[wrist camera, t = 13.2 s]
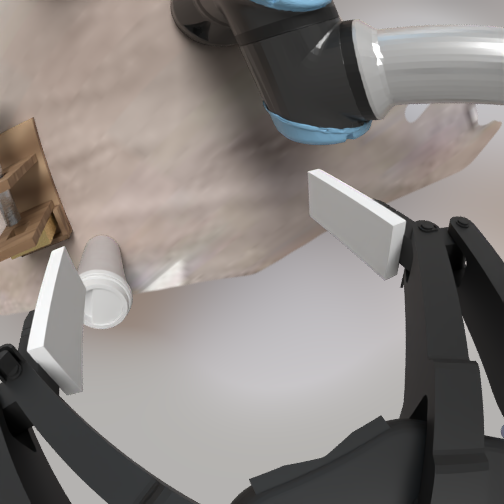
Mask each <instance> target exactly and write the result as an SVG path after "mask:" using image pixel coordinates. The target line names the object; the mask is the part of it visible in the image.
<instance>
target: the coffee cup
mask: <svg viewBox="0 0 504 504" xmlns="http://www.w3.org/2000/svg"><path fill="white" fill-rule="evenodd" d="M77 272H78V274H79V276H80V278H81V280H82V282H83V284H84V286H85V288H86V295H85V308H84V324H85V325H87V326H89V327H92V328H96V329H107V328H111V327H113V326H116V325H118V324H119V323H120V322H122V321H123V319H124V318H125V316H126V315H127V314H128V312H129V310H130V308H131V305H132V300H133V296H132V291H131V288H130V287H129V285H128V283H127V282H126V278H125V273H124V268H123V263H122V258H121V252H120V247H119V245H118V243H117V242H116V241H115V240H114V239H113V238H111V237H109V236H105V235H99V236H95V237H93V238H91V239H90V240H89V241H88V242H87V244H86V246H85V249H84V252H83V255H82V258H81V261H80V264H79V267H78V271H77Z"/></svg>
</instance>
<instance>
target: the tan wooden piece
mask: <svg viewBox="0 0 504 504" xmlns="http://www.w3.org/2000/svg"><path fill="white" fill-rule="evenodd" d="M57 226H58V222H57V220H56V218H55V215H54V213H53V210H52V212H51V214H50V217H49V219H48V221H47V223H46V225H45V227H44V229H43V232H42V234H41V236H40V238H39V241H38V243H37V245H36V247H33V248H31V249H29V250H26V251H24V252H21V253H19V254H17V255H14V256H12V257H11V258H12V259H15V258H17V257H19V256H22V255H24V254H26V253H29V252H31V251H34V250H36V249H39V248H41V247H44V246H46V245H49V244H51V242H52V239H53V236H54V233H55V231H56V228H57Z"/></svg>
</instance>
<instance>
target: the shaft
mask: <svg viewBox="0 0 504 504" xmlns="http://www.w3.org/2000/svg"><path fill="white" fill-rule="evenodd" d="M3 176H4V173H3V170H2V167H1V165H0V179H1V178H2V177H3ZM0 210H1V213H2V215H3V217H4V220H5V222H6V224H7V226H8V227H11V226H13V225H15V224H17V223H18V222H19V221H20V220H21V216H20V214H19V211H18V209H17V207H16V204H15V202H14V199H13V197H12V194H11V192H10V189H9V190H7V191H5V192H3V193H1V194H0Z"/></svg>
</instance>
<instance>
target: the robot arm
mask: <svg viewBox="0 0 504 504" xmlns="http://www.w3.org/2000/svg"><path fill="white" fill-rule="evenodd" d="M171 12H172V16H173V18H174V21H175V23H176V24H177V26H178V27H179V28H180V30H181V31H182V32H183V33H184V34H186V35H187V36H188V37H190V38H191V39H193V40H195V41H197V42H199V43H202V44H205V45H210V46H230V45H234V44H239V48H240V50H241V52H242V54H243V56H244V58H245V60H246V63H247V65H248V67H249V69H250V71H251V74H252V76H253V78H254V80H255V82H256V85H257V87H258V89H259V91H260V94H261V96H262V98H263V105H264V107H265V109H266V110H267V112H268V113H269V114H270V116H271V118H272V120H273V122H274V124H275V126H276V128H277V130H278V131H279V132H280V133H281V134H283V135H284V136H285V137H286V138H288V139H290V140H292V141H295V142H298V143H303V144H310V145H330V144H337V143H342V142H345V141H346V139H356V138H358V137H360V136H362V135H363V134H365V133H366V132H367V131H368V130H369V128H370V126H371V123H372V120H381V119H384V117H385V116H386V115H387V114H388V112H389V111H390V110H391V108H392V107H394V106H395V105H402V104H427V103H471V104H494V105H504V27H496V26H481V25H424V26H409V27H397V28H387V29H375V28H373V27H371V26H369V25H368V24H366V23H364V22H363V21H361V20H359V19H354V20H349V21H341V20H340V18H339V15H338V12H337V10H336V8H335V5H334V2H333V0H171ZM308 191H309V215H310V217H312V218H313V219H314V220H315V221H316V222H318V223H319V224H320V225H321V226H322V227H324V228H325V229H326V230H327V231H328V232H330V233H331V234H332V235H333V236H334V237H335V238H337V239H338V240H339V241H340V242H341V243H343V244H344V245H345V246H346V247H347V248H348V249H350V250H351V251H352V252H353V253H354V254H355V255H356V256H358V257H359V258H360V259H361V260H362V261H363V262H364V263H365V264H367V265H368V266H369V267H370V268H371V269H372V270H373V271H374V272H376V273H377V274H378V275H379V276H380V277H381V278H382V279H383V280H387V279H389V278H391V277H393V276H395V275H397V272H398V267H399V263H400V264H401V265H402V266H403V267H404V268H405V269H404V274H403V278H402V283H401V288H403V285H404V292H405V315H406V316H405V317H406V368H405V391H404V403H403V408H402V411H401V414H400V418H399V419H394V420H389V421H385V420H384V419H383V417H382V416H379V417H378V418H376V419H375V420H373V421H371V422H369V423H368V424H366V425H364V426H363V427H361V428H359V429H357V430H356V431H354V432H352V433H351V434H350V435H349V436H348V437H347V438H346V439H345V440H344V441H342V442H341V443H340V444H339V445H338V446H337V447H336V448H335V449H333V450H332V451H331V452H330V453H329V454H328V455H326V456H325V457H323V458H319V459H315V460H310V461H306V462H301V463H296V464H291V465H285V466H282V467H280V468H277V469H275V470H272V471H270V472H268V473H265V474H262V475H259V476H257V477H254V478H251V479H249V480H250V482H251V486H250V487H248V488H247V489H245V490H244V491H243V492H241V493H240V494H239V495H238V496H237V497H236V498H235V499H234V500H233V501H232V503H231V504H504V439H501V438H495V437H490V436H485V435H484V416H483V400H482V390H481V389H482V388H481V378H480V370H479V366H478V363H477V362H476V361H470V360H469V357H468V349H467V342H466V335H465V329H464V323H463V318H464V321H465V323H466V325H467V327H468V330H469V332H470V334H471V336H472V339H473V341H474V344H475V346H476V348H477V351H478V353H479V356H480V359H481V361H482V364H483V366H484V369H485V372H486V375H487V377H488V380H489V383H490V386H491V389H492V392H493V394H494V397H495V400H496V402H497V405H498V407H499V409H500V411H501V413H502V415H503V417H504V262H503V261H502V259H501V258H500V257H499V255H498V254H497V253H496V251H495V250H494V249H493V247H492V246H491V245H490V243H489V242H488V241H487V240H486V238H485V237H484V236H483V234H482V233H481V232H480V231H479V230H478V228H477V227H476V226H475V225H474V224H473V223H472V222H471V221H470V220H468V219H467V218H463V217H452V218H451V219H450V223H449V227H446V228H439V227H438V226H437V225H436V224H434V223H432V222H429V221H425V220H421V221H420V220H419V221H416V222H414V221H412V220H411V219H409V218H408V217H406V216H405V215H403V214H402V213H400V212H398V211H396V210H395V209H394V208H392V207H390V206H389V205H387V204H386V203H384V202H382V201H379V200H376V199H371V198H369V197H368V196H366V195H364V194H363V193H361V192H359V191H358V190H356V189H354V188H353V187H351V186H349V185H347V184H346V183H344V182H342V181H340V180H339V179H337V178H335V177H333V176H332V175H330V174H328V173H326V172H324V171H323V170H321V169H316V170H312V171H308ZM465 261H466V262H467V266H466V265H465ZM85 295H86V288H85V286H84V284H83V282H82V280H81V278H80V276H79V274H78V272H77V270H76V268H75V266H74V264H73V262H72V260H71V258H70V256H69V254H68V252H67V250H66V248H65V246H63V247H61V248H58V249H56V250H53V251H52V252H51V255H50V259H49V262H48V265H47V268H46V272H45V275H44V278H43V282H42V285H41V289H40V293H39V297H38V301H37V305H36V309H35V310H33V311H30V312H29V314H28V316H27V317H26V319H25V321H24V325H23V331H22V333H21V338H20V343H19V348H18V351H17V350H16V349H15V347H14V346H13V345H11V344H4V345H2V346H0V380H1V381H2V383H1V384H0V504H71V502H70V501H69V499H68V497H67V496H66V494H65V492H64V490H63V489H62V487H61V485H60V484H59V482H58V480H57V478H56V476H55V475H54V473H53V471H52V469H51V467H50V465H49V463H48V461H47V459H46V457H45V455H44V453H43V451H42V449H41V447H40V444H39V442H38V440H37V438H36V436H35V433H34V431H33V429H32V426H35V427H36V429H37V430H38V431H39V432H40V434H41V435H42V436H43V437H44V439H45V440H46V441H47V442H48V443H49V444H50V445H51V447H52V448H53V449H54V450H55V451H56V452H57V454H58V455H59V456H60V457H61V458H62V459H63V460H64V461H65V462H66V463H67V465H68V466H69V467H70V468H71V469H72V470H73V471H74V472H75V473H76V474H77V475H78V476H79V477H80V478H81V479H82V480H83V481H84V482H85V483H86V484H87V485H88V486H89V487H90V488H91V489H93V490H94V491H95V492H96V493H97V494H98V495H99V496H100V497H101V498H103V499H104V500H105V501H106V502H107V503H108V504H199V503H198V502H196V501H194V500H192V499H190V498H189V497H187V496H185V495H183V494H182V493H180V492H179V491H177V490H175V489H174V488H172V487H171V486H169V485H168V484H166V483H164V482H163V481H161V480H160V479H158V478H157V477H155V476H154V475H152V474H151V473H149V472H148V471H147V470H145V469H144V468H142V467H141V466H140V465H138V464H137V463H136V462H134V461H133V460H132V459H130V458H129V457H127V456H126V455H125V454H124V453H122V452H121V451H120V450H119V449H117V448H116V447H115V446H114V445H112V444H111V443H110V442H109V441H107V440H106V439H105V438H104V437H102V435H100V434H99V433H98V432H97V431H96V430H95V429H93V428H92V427H91V426H90V425H89V424H88V423H87V422H86V421H84V419H82V418H81V417H80V416H79V415H78V414H77V413H76V412H75V411H74V410H73V409H72V408H71V407H70V406H69V405H68V404H67V403H66V402H65V401H64V400H63V399H62V398H61V397H60V396H59V387H60V388H61V389H62V391H63V392H64V393H65V394H66V395H70V394H75V393H79V392H82V391H83V385H82V384H83V379H82V353H83V324H84V308H85ZM462 316H463V318H462ZM501 435H502V436H503V438H504V425H503V426H502V428H501Z"/></svg>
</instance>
